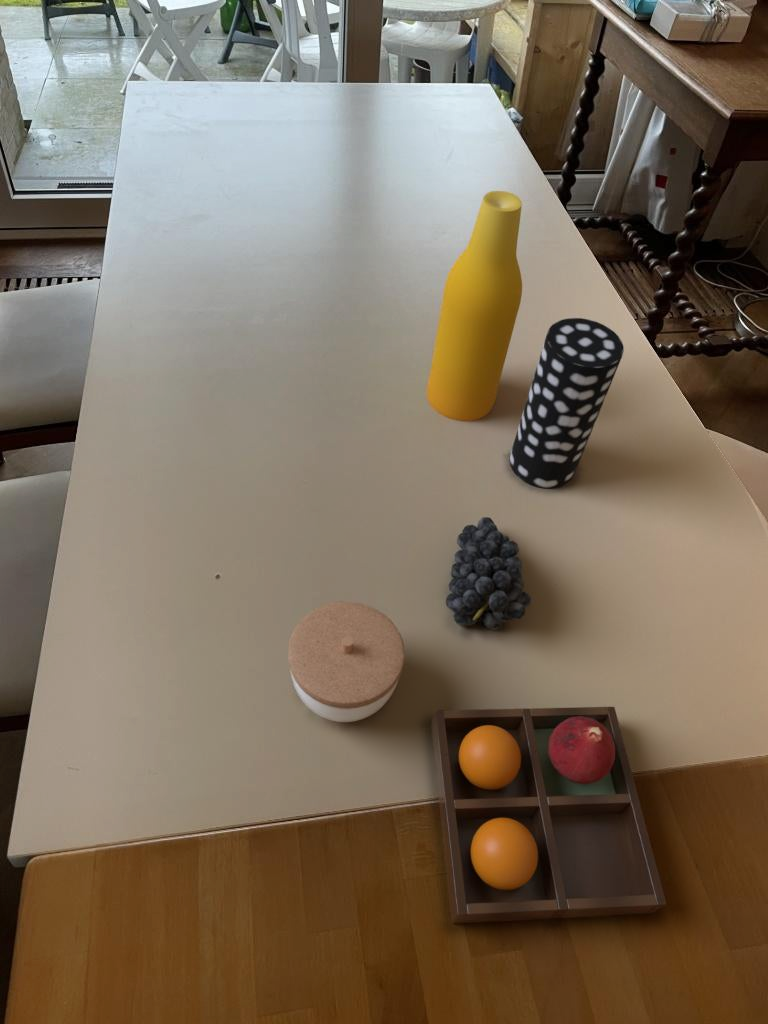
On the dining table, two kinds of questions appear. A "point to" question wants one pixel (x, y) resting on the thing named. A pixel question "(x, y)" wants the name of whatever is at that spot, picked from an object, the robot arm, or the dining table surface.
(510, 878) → the clementine
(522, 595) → the fruit
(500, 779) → the clementine
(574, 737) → the pomegranate
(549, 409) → the white-spotted black cylinder
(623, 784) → the wooden compartment tray
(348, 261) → the dining table surface
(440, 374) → the beer bottle
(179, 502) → the dining table surface
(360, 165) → the dining table surface
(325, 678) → the trinket box
